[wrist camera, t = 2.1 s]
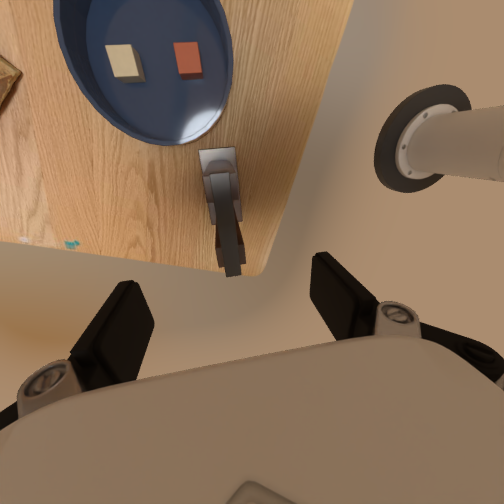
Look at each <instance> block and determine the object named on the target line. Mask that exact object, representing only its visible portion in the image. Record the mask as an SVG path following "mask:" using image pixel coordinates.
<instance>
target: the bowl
mask: <svg viewBox="0 0 504 504" xmlns="http://www.w3.org/2000/svg"><path fill="white" fill-rule="evenodd" d="M53 16H54V22H55V27H56V32H57V37H58V42H59V45H60V48H61V51H62V53H63V56H64V58H65V61H66V64H67V66H68V69H69V71H70V73H71V74H72V76H73V78H74V79H75V81H76V83H77V85H78V86H79V88H80V90H81V92H82V93H83V94H84V95H85V97H86V98H87V99H88V100H89V102H90V103H91V104H92V105H93V107H94V108H95V109H96V110H97V111H98V112H99V113H100V114H101V115H102V116H103V117H104V118H105V119H107V120H108V121H109V122H110V123H111V124H112V125H113V126H115V127H116V128H118V129H119V130H121V131H123V132H124V133H126V134H127V135H129V136H131V137H133V138H135V139H138V140H141V141H143V142H146V143H149V144H155V145H162V146H176V145H186V144H189V143H192V142H195V141H197V140H199V139H201V138H202V137H204V136H205V135H206V134H208V133H209V132H210V131H211V130H212V129H213V128H214V126H215V125H216V124H217V123H218V121H219V120H220V118H221V116H222V114H223V112H224V110H225V108H226V104H227V101H228V97H229V93H230V89H231V85H232V75H233V50H232V39H231V34H230V31H229V27H228V23H227V19H226V15H225V12H224V10H223V7H222V5H221V3H220V0H53ZM179 42H198V47H199V52H200V59H201V66H202V73H203V79H193V80H182V78H181V76H180V74H179V71H178V66H177V61H176V56H175V50H174V45H173V43H179ZM126 44H131V45H132V47H133V48H134V49H135V50H136V51H137V52H138V54H139V56H140V60H141V64H142V68H143V72H144V76H145V80H146V82H138V83H123V82H122V81H120V80H119V79H117V78H116V77H115V76H114V73H113V70H112V67H111V63H110V60H109V57H108V54H107V50H106V47H105V45H126Z"/></svg>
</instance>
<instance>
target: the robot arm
mask: <svg viewBox="0 0 504 504" xmlns="http://www.w3.org/2000/svg"><path fill="white" fill-rule="evenodd" d="M395 162H396V166H397V169H398V170H399V172H400V173H401V174H402V175H403V176H405V177H406V178H410V179H423V178H426V177H429V176H431V175H433V174H434V173H437V174H445V175H452V176H460V177H469V178H477V179H484V180H492V181H499V182H504V105H503V106H497V107H489V108H482V109H475V110H468V111H461V112H458V110H457V109H456V108H455V107H453V106H451V105H449V104H439V105H434V106H430V107H428V108H426V109H424V110H422V111H421V112H419V113H418V114H417V115H415V116H414V118H413V119H412V120H411V121H410V122H409V123H408V124H407V126H406V127H405V128H404V130H403V132H402V134H401V136H400V138H399V140H398V143H397V147H396V152H395ZM310 298H311V300H312V302H313V304H314V305H315V307H316V309H317V310H318V312H319V313H320V315H321V316H322V318H323V320H324V321H325V323H326V325H327V326H328V328H329V329H330V331H331V333H332V334H333V336H334V338H335V339H336V341H334V342H328V343H323V344H317V345H312V346H306V347H301V348H296V349H291V350H285V351H280V352H275V353H269V354H265V355H260V356H254V357H249V358H244V359H239V360H234V361H229V362H224V363H219V364H213V365H208V366H203V367H198V368H193V369H188V370H184V371H178V372H174V373H169V374H164V375H159V376H154V377H149V378H144V379H139V380H136V379H137V376H138V373H139V370H140V366H141V364H142V361H143V358H144V355H145V352H146V349H147V346H148V343H149V340H150V337H151V334H152V331H153V329H154V319H153V317H152V314H151V312H150V310H149V307H148V305H147V302H146V300H145V298H144V295H143V293H142V291H141V288H140V286H139V284H138V283H137V282H134V281H133V280H129V281H122V282H119V283H118V285H117V286H116V287H115V289H114V290H113V292H112V293H111V294H110V296H109V297H108V299H107V300H106V301H105V303H104V304H103V306H102V307H101V309H100V310H99V312H98V313H97V314H96V316H95V317H94V318H93V320H92V321H91V323H90V324H89V325H88V327H87V329H86V330H85V331H84V333H83V334H82V335H81V337H80V338H79V340H78V341H77V343H76V344H75V345H74V347H73V348H72V350H71V351H70V353H71V355H70V357H69V358H68V359H67V360H65V359H63V360H57V361H54V362H51V363H49V364H47V365H45V366H43V367H42V368H40V369H39V370H37V371H35V372H34V373H33V374H32V375H31V376H29V377H28V378H27V379H26V381H25V382H24V383H23V384H22V385H21V387H20V389H19V390H18V393H17V401H16V402H15V403H13V404H12V405H10V406H9V407H7V408H6V409H4V410H3V411H2V412H0V504H504V359H503V358H502V357H501V356H500V355H499V354H498V353H497V352H496V351H495V350H493V349H492V348H490V347H489V346H487V345H485V344H483V343H481V342H479V341H476V340H473V339H470V338H467V337H464V336H461V335H458V334H455V333H452V332H449V331H445V330H443V329H440V328H437V327H434V326H431V325H427V324H425V323H421V322H419V318H418V315H417V314H416V313H415V312H414V311H413V310H412V309H411V308H409V307H407V306H405V305H404V304H401V303H398V302H393V301H384V302H381V303H379V302H378V301H377V300H376V297H375V296H373V295H372V294H371V293H370V292H369V291H368V290H367V289H366V288H365V287H364V286H363V285H362V284H361V283H360V282H359V281H357V279H356V278H354V277H353V276H352V275H351V274H350V273H349V272H348V271H347V270H346V269H345V268H344V267H343V266H342V265H341V264H340V263H339V262H338V261H337V260H336V259H334V258H333V257H332V256H331V255H330V254H329V253H328V252H319V253H316V254H315V256H313V258H312V269H311V284H310Z"/></svg>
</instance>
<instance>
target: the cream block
mask: <svg viewBox="0 0 504 504" xmlns="http://www.w3.org/2000/svg"><path fill="white" fill-rule="evenodd" d="M105 47H106V50H107V54H108V57H109V60H110V63H111V67H112V70H113V73H114V76H115V77H116V78H117V79H119V80H120V81H122V82H123V83H138V82H146V80H145V76H144V72H143V68H142V64H141V60H140V56H139V54H138V52H137V51H136V50H135V49H134V48H133V47H132V45H131V44H126V45H105Z"/></svg>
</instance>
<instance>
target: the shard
mask: <svg viewBox="0 0 504 504" xmlns="http://www.w3.org/2000/svg"><path fill="white" fill-rule="evenodd" d="M20 74H21V72H20V71H19V70H18V69H16V68H15V67H14V66H12V65H11V64H10V63H8V62H7V61H5V60H4V59H3V58H1V57H0V108H1V104H2V102H3V100H4V99H5V97H6V96H7V93H8V92H9V91H10V89H11V86H12V84H13V83H14V82H15V81H16V80H17V77H18V76H19V75H20Z"/></svg>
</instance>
